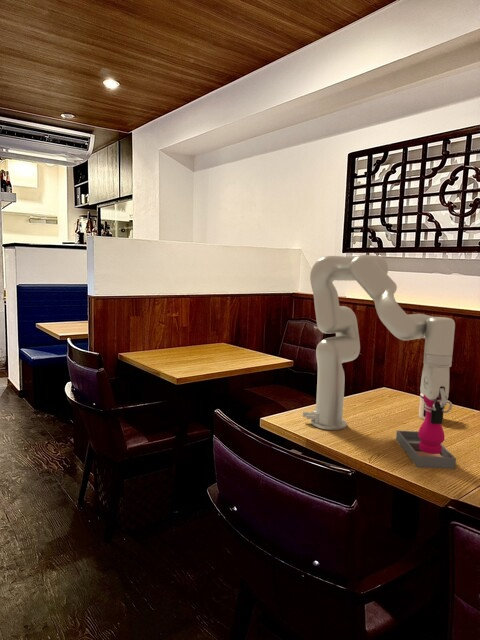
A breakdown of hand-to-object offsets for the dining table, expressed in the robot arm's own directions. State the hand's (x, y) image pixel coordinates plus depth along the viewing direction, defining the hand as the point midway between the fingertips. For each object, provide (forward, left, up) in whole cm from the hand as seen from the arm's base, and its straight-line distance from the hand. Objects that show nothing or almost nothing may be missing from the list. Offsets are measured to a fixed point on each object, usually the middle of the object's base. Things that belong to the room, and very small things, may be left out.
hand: (432, 419), depth 134 cm
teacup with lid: (+16, +39, -13) cm, 44 cm away
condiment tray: (0, +5, -13) cm, 13 cm away
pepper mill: (0, 0, -10) cm, 10 cm away
